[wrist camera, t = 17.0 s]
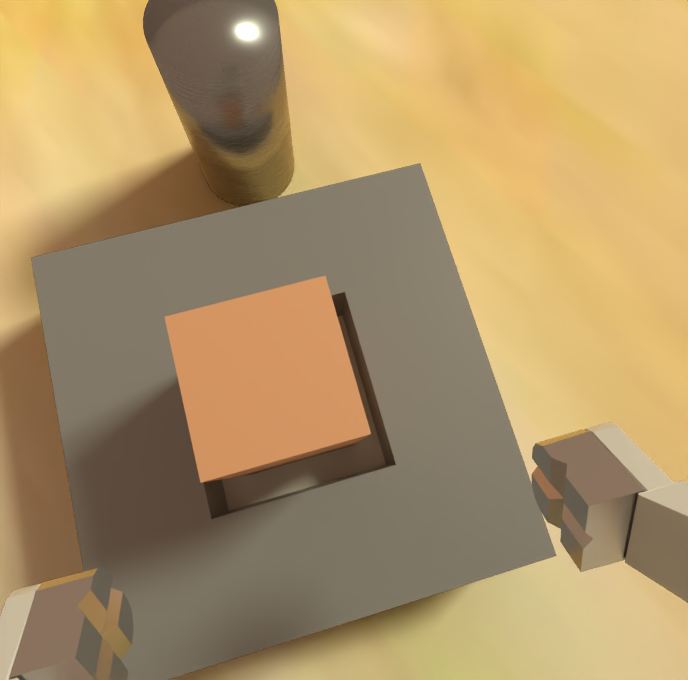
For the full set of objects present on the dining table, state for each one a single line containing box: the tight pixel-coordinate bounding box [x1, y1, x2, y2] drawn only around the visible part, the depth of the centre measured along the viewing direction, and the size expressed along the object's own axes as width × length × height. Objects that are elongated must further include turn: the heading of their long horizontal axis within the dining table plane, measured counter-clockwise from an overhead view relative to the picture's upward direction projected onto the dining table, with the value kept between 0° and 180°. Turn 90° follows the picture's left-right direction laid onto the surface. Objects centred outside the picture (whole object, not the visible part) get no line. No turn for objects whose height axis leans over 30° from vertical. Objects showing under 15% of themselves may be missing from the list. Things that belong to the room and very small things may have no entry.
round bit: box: [143, 0, 294, 206], centre depth 20 cm, size 4×4×8 cm
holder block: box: [31, 163, 556, 680], centre depth 19 cm, size 14×14×4 cm
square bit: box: [165, 276, 371, 483], centre depth 17 cm, size 4×4×8 cm
